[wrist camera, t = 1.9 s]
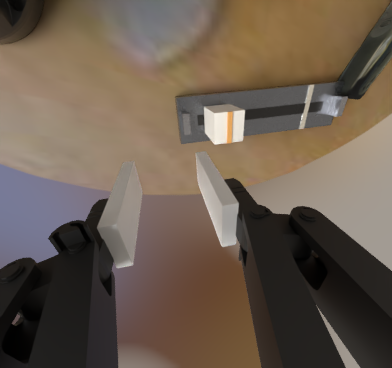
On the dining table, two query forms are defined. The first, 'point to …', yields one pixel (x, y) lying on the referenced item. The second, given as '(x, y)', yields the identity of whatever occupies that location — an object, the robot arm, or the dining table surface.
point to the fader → (224, 123)
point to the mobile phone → (369, 58)
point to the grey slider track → (265, 108)
